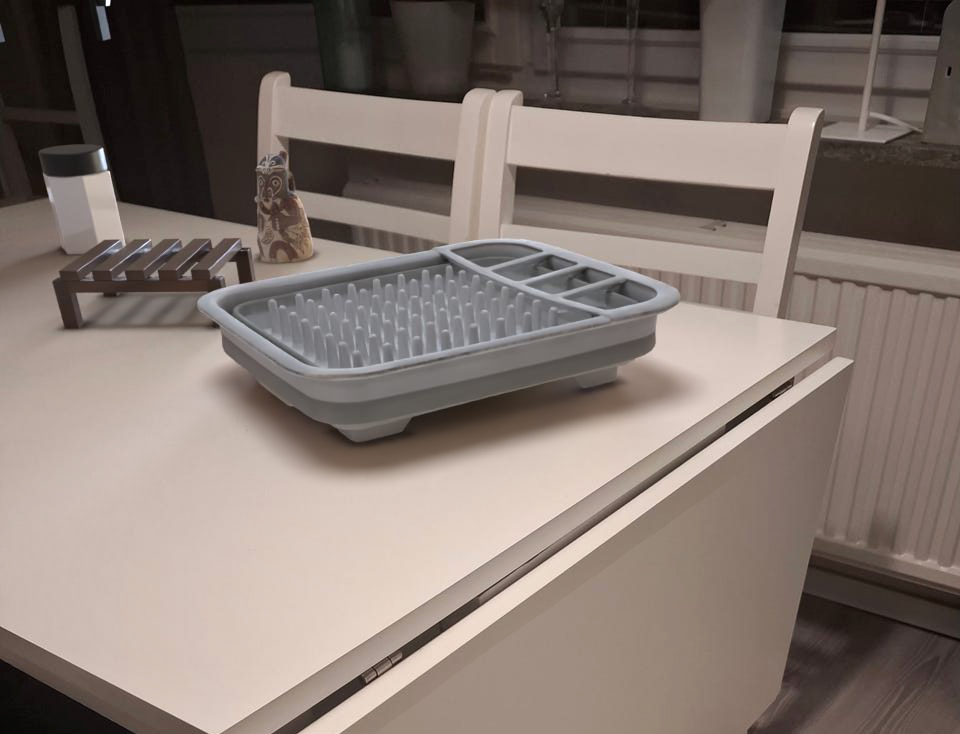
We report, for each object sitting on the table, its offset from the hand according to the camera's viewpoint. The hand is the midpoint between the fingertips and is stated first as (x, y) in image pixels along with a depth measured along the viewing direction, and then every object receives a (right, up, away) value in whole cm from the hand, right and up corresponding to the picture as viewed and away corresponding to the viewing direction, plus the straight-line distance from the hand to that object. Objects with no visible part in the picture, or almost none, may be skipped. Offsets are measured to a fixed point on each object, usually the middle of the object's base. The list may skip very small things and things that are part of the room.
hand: (50, 41), depth 124 cm
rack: (+18, -38, -11) cm, 43 cm away
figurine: (+28, -23, +8) cm, 37 cm away
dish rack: (+49, -53, -30) cm, 78 cm away
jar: (0, -19, +14) cm, 24 cm away
